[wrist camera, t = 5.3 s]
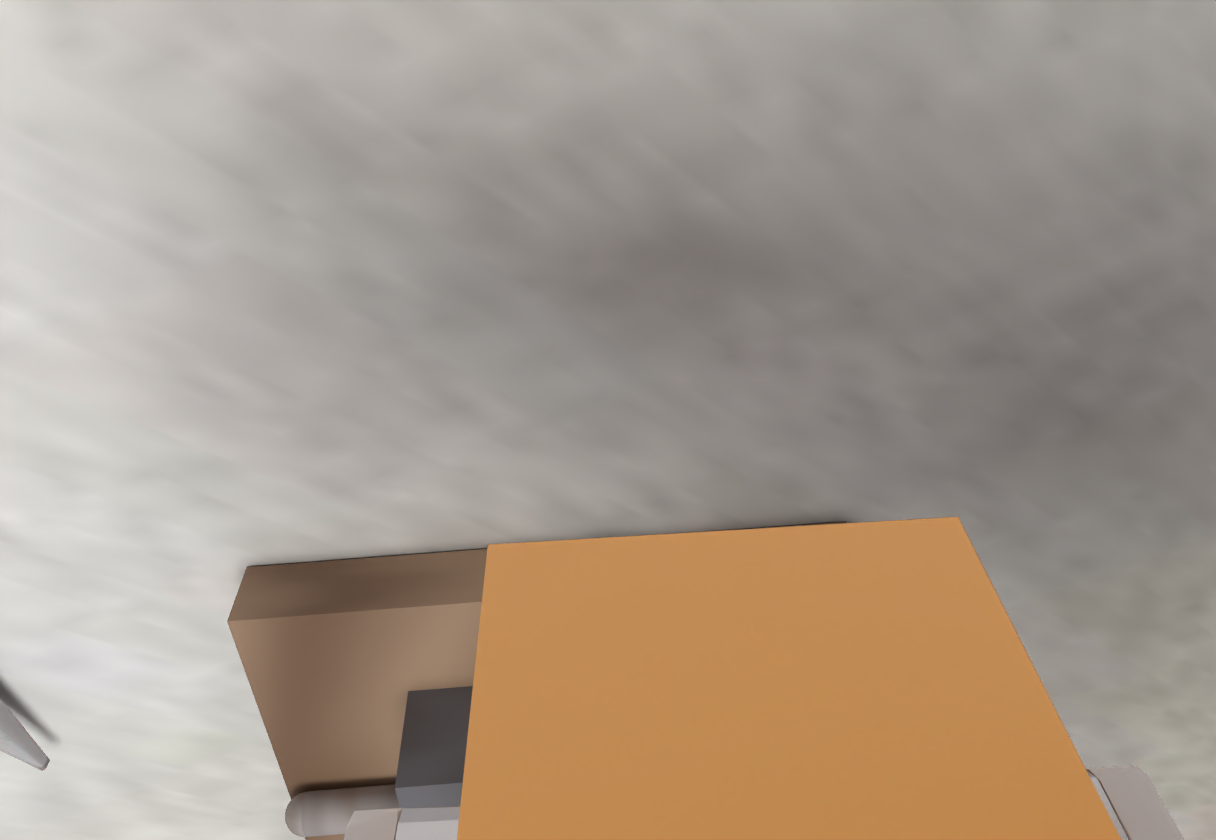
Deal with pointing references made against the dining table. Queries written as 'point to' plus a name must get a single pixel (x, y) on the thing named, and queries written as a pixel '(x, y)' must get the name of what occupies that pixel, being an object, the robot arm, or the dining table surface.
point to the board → (364, 679)
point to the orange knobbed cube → (762, 693)
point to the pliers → (19, 740)
